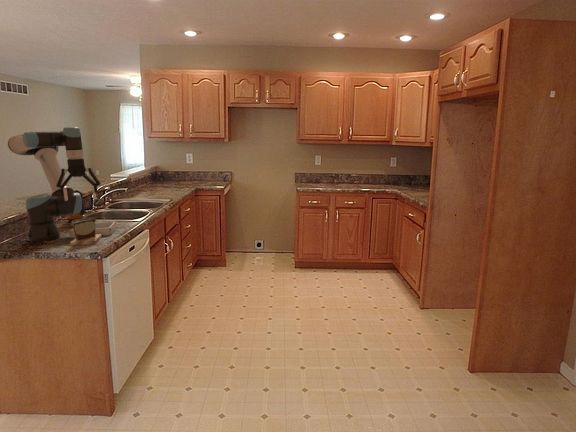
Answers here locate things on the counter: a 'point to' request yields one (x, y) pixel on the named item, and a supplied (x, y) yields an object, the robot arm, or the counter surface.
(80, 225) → the food container
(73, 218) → the canister
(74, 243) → the board
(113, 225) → the bin
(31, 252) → the counter surface
